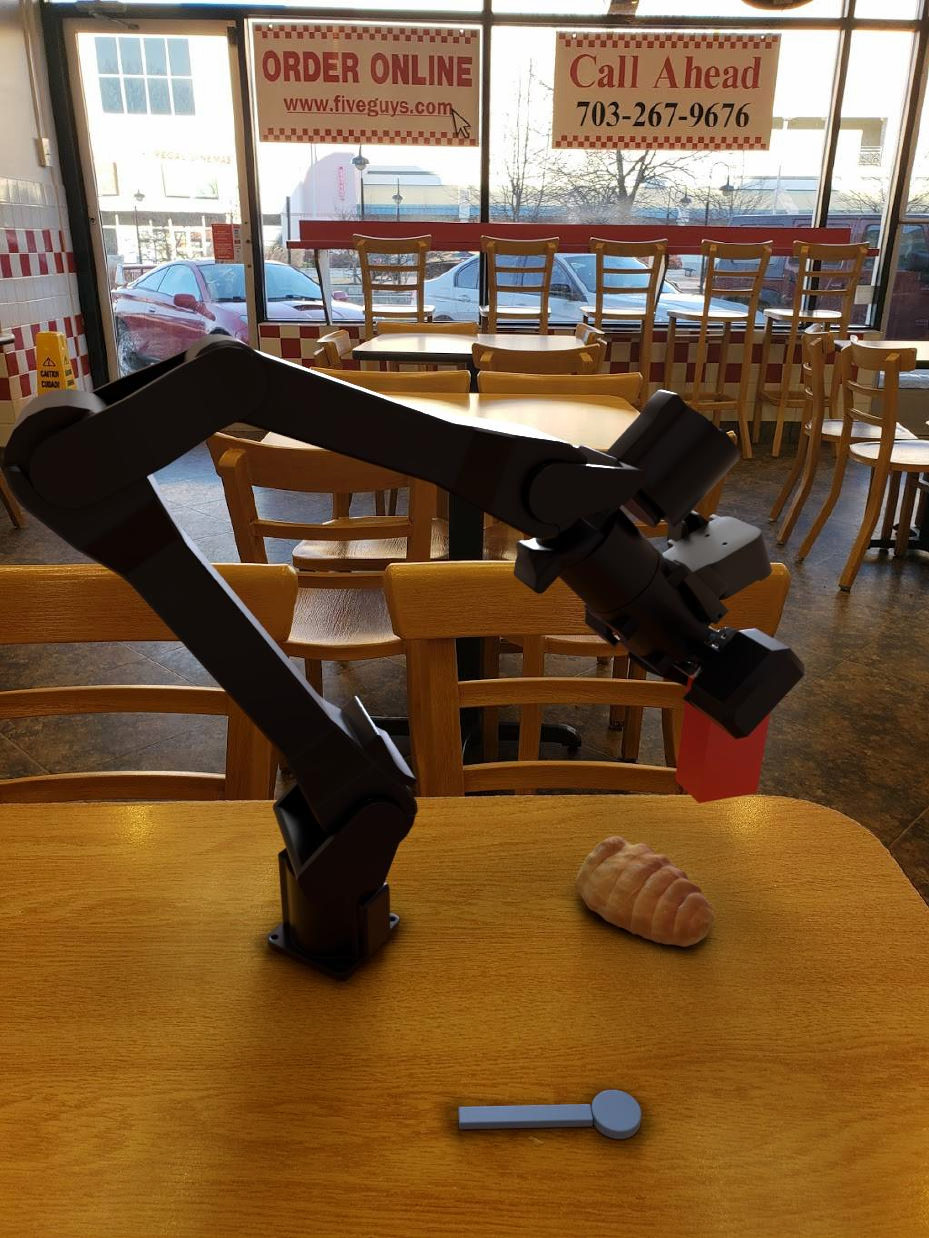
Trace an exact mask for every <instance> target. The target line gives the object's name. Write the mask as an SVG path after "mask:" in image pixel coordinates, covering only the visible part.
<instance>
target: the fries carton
mask: <svg viewBox="0 0 929 1238" xmlns="http://www.w3.org/2000/svg"><path fill="white" fill-rule="evenodd" d="M694 679H695V678H694ZM694 679H692V678H690V677H689V676H688V683H687V687H686V690H685V695H686V694H687V693H688V692H689V691H690V689H691V682H692V681H693V680H694ZM770 718H771V712H770V713H769V714H768V715H767V716H766V717H765V719H764V720H763V721H762V722H761V723H760V724H759V725H758V726H757V727H756V728H755V729H754V730H753V732H752V733H751V734H750V735H749V736H748V737H745V738H740V739H735V738H733V737H732V736H731V735H729V734H728V733H727V732H725V731H724V730H723V729H721V728H720V727H719V726H717V725H716V724H715V723H713V722H712V721H711V720H710V719H709V718H707V717H706V716H705V715H704V714H702V713H701V712H700V711H698V710H697V709H696V708H694V707H693V706H692V705H690V704H689V703H688V702H686V701H685V700H684V707H683V715H682V721H681V722H682V723H681V729H680V730H681V731H680V738H679V745H678V746H679V747H678V754H677V762H676V770H675V779H674V780H675V781H676V782H677V783H678V785H680V786H681V787H682V788H683V790H684V791H686V792H687V794H689V796H691V798H692V799H694V800H695V802H697V803H698V804H703V803H709V802H714V801H719V800H720V801H721V800H726V799H731V798H737V797H743V796H744V797H745V796H748V795H754V794H757V793H758V791H759V790H758V789H759V784H760V777H761V771H762V765H763V759H764V753H765V749H766V742H767V734H768V729H769V725H770V724H769V723H770Z"/></svg>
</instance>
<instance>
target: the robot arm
mask: <svg viewBox="0 0 929 1238" xmlns="http://www.w3.org/2000/svg"><path fill="white" fill-rule="evenodd" d="M234 424H244V425H247V426H250V427H252V428H253V427H254V428H256V429H259V430H263V431H266V432H269V433H272V434H276V435H279V436H282V437H285V438H288V439H291V440H294V441H297V442H299V443H300V442H301V443H303V444H307V445H309V446H313V447H317V448H320V449H323V450H326V451H329V452H332V453H335V454H339V455H341V456H345V457H347V458H350V459H355V460H357V461H360V462H364V463H367V464H370V465H373V466H375V467H378V468H379V467H380V468H383V469H386V470H388V471H392V472H395V473H398V474H400V475H401V474H402V475H405V476H408V477H411V478H413V479H417V480H420V481H423V482H426V483H429V484H432V485H435V486H437V487H438V488H440V489H442V490H444V491H445V492H448V493H449V494H451V495H453V496H454V497H457V498H458V499H460V500H462V501H464V502H466V503H467V504H469V505H471V506H472V507H474V508H476V509H478V510H480V511H481V512H483V513H485V514H487V515H488V516H490V517H492V518H494V519H496V520H498V521H500V522H502V523H503V524H505V525H507V526H509V527H511V528H512V529H514V530H516V531H518V532H519V533H522V534H523V535H525V536H527V537H531V539H529V540H519V541H517V542H516V544H515V548H516V558H515V561H514V566H513V576H514V577H515V578H516V579H517V580H519V581H520V583H522V584H524V585H525V586H526V587H527V588H529V589H530V590H531V591H533V592H534V593H535V594H537V595H541V594H544V593H545V592H546V591H547V590H548V589H549V587H551V585H552V584H553V583H554V582H555V581H556V580H557V579H558V578H559V579H560V580H561V581H562V582H563V583H564V584H565V585H566V586H567V587H568V588H569V589H570V590H571V591H572V592H573V593H574V594H576V596H577V597H578V598H579V599H580V600H581V601H583V603H584V604H585V605H584V606H583V607H584V609H585V613H584V624H586V625H587V627H589V629H591V631H593V633H595V634H596V635H597V637H599V638H600V639H601V640H603V641H604V642H606V643H607V644H608V645H609V646H611V647H612V648H613V649H616V648H617V647H618V646H619V645H620V644H621V646H623V647H624V648H625V649H626V650H627V651H628V652H627V658H628V659H629V660H630V661H632V662H633V664H636V665H637V666H638V667H639V668H641V669H642V670H643V671H645V672H647V673H649V674H651V675H655V676H657V677H659V678H662V679H665V680H667V681H670V682H673V683H676V684H678V685H681V686H683V687H686V688H687V683H688V676H689V677H690V678H692V679H694V678H695V679H694V680H693V681H692V682H691V689H690V691H689V692H688V693H687V694H686V693H685V695H684V696H683V697H682V700H683V701H684V702H685V701H686V702H688V703H689V704H690V705H692V706H693V707H694V708H696V709H697V710H698V711H700V712H701V713H702V714H704V715H705V716H706V717H707V718H709V719H710V720H711V721H712V722H713V723H715V724H716V725H717V726H719V727H720V728H721V729H723V730H724V731H725V732H727V733H728V734H729V735H731V736H732V737H733V738H735V739H740V738H745V737H748V736H749V735H750V734H751V733H752V732H753V730H754V729H755V728H756V727H757V726H758V725H759V724H760V723H761V722H762V721H763V720H764V719H765V717H766V716H767V715H768V714H769V713H770V714H771V713H772V711H773V710H774V709H775V708H776V707H777V705H779V703H780V702H781V701H782V700H783V699H784V698H785V697H786V696H787V695H788V694H789V693H790V691H791V690H792V689H794V687H795V686H796V685H797V684H798V683H799V682H800V681H801V679H803V678H804V676H805V664H804V662H803V661H802V660H801V659H800V658H799V657H798V655H797V654H796V653H795V652H794V651H793V650H792V648H791V647H790V646H788V645H785V644H784V643H782V642H780V641H779V640H777V639H775V638H773V637H771V636H770V635H768V634H766V633H764V632H763V631H761V630H759V629H758V628H749V629H742V630H736V629H735V628H733V627H730V626H724V627H722V628H720V629H719V630H717V629H715V628H713V627H712V626H710V625H711V624H713V625H717V624H719V623H720V621H722V619H723V618H724V617H725V616H726V615H727V614H728V612H730V610H729V609H728V608H727V606H725V605H724V603H723V602H722V601H724V600H727V599H729V598H731V597H733V596H734V595H737V594H738V593H739V592H741V591H743V590H744V589H746V588H748V587H749V586H751V585H753V584H754V583H756V582H758V581H759V582H762V581H764V580H766V579H768V578H769V577H770V575H772V572H773V567H772V565H771V561H770V557H769V554H768V550H767V546H766V542H765V540H764V535H763V532H762V529H760V528H759V527H756V526H754V525H752V524H749V523H747V522H744V521H742V520H740V519H737V518H735V517H732V516H719V515H716V514H714V513H713V514H712V515H709V517H708V518H709V520H708V519H707V518H705V517H704V516H703V515H702V514H700V513H699V512H696V511H694V510H695V508H696V507H697V506H698V505H699V504H700V503H701V502H702V501H703V500H704V498H705V497H706V496H707V495H709V493H710V492H711V491H712V490H713V489H714V487H715V486H716V485H718V483H719V482H720V481H721V480H722V479H723V478H724V477H725V475H726V474H727V473H728V472H729V471H730V470H731V469H732V468H733V467H734V466H735V465H736V463H737V462H738V461H739V459H740V451H739V449H738V446H737V445H736V443H735V442H734V440H733V438H732V437H731V436H730V435H729V433H728V432H727V431H725V430H724V429H721V428H718V427H717V426H716V425H715V424H714V423H713V422H711V421H710V419H708V418H707V417H706V416H705V415H703V414H702V413H700V412H699V411H697V410H696V409H694V408H692V407H691V406H689V405H687V403H686V402H685V401H684V399H683V398H682V397H681V395H680V394H679V393H675V392H671V391H668V390H664V389H658V390H657V391H656V392H655V393H654V394H653V395H652V396H651V397H650V398H649V400H648V401H647V402H646V403H645V405H644V406H643V408H642V410H641V412H640V413H639V414H638V415H637V417H636V418H635V419H634V420H633V421H632V423H631V424H630V425H629V426H628V427H626V429H625V431H623V432H622V433H621V434H620V436H619V437H618V438H617V439H616V440H615V441H614V442H613V443H612V445H610V447H609V448H608V449H607V450H606V451H605V452H601V451H598V450H596V449H593V448H590V447H588V446H587V445H586V446H585V445H583V444H581V445H573V444H571V443H568V442H567V441H564V440H562V439H559V438H557V437H555V436H551V435H549V434H547V433H544V432H542V431H540V430H537V429H534V428H532V427H529V426H527V425H523V424H519V423H512V422H505V421H499V420H492V419H486V418H480V417H469V416H454V415H447V414H441V413H434V412H431V411H429V410H426V409H423V408H420V407H417V406H414V405H411V404H409V403H407V402H403V401H400V400H398V399H394V398H391V397H388V396H386V395H384V394H381V393H377V392H375V391H372V390H370V389H366V388H365V387H361V386H358V385H355V384H353V383H349V382H347V381H345V380H344V381H343V380H341V379H338V378H336V377H332V376H330V375H327V374H325V373H322V372H318V371H315V370H312V369H310V368H307V367H305V366H302V365H299V364H296V363H294V362H291V361H287V360H284V359H282V358H279V357H276V356H273V355H270V354H267V353H264V352H262V351H260V350H256V349H254V348H252V347H251V346H250V345H248V344H247V343H245V342H243V341H241V340H240V339H237V338H236V337H234V336H231V335H225V334H219V333H215V334H211V335H205V336H202V337H201V338H199V339H198V340H196V341H195V342H193V343H192V344H191V345H190V347H187V348H186V349H184V350H181V351H179V352H177V353H176V354H173V355H172V356H168V357H166V358H164V359H162V360H159V361H156V362H155V363H152V364H149V365H147V366H145V367H142V368H139V369H138V370H135V371H131V372H130V373H128V374H126V375H125V374H124V375H123V376H120V377H119V378H116V379H114V380H112V381H110V382H108V383H106V384H105V385H104V384H103V385H102V386H100V387H97V388H95V389H94V390H92V391H90V392H88V391H85V390H79V389H72V388H61V389H54V390H49V391H46V392H44V393H42V394H40V395H38V396H36V397H33V398H32V399H31V400H30V401H29V402H28V403H27V404H26V405H25V406H24V407H23V408H22V409H21V410H20V412H19V414H18V416H17V418H16V420H15V422H14V425H13V427H12V429H11V431H10V434H9V436H8V440H7V441H6V445H5V446H4V458H3V475H4V479H5V481H6V484H7V487H8V489H9V491H10V492H11V495H13V497H14V499H15V500H16V502H17V503H18V504H19V505H20V506H21V507H22V508H23V509H24V510H25V511H26V512H27V513H29V514H30V515H31V516H33V517H34V518H35V519H36V520H37V521H39V522H40V523H42V524H43V525H44V526H45V527H46V528H48V529H49V530H50V531H52V532H53V533H54V534H56V535H57V536H58V537H59V538H60V539H62V540H63V541H64V542H66V543H67V544H68V545H70V546H71V548H73V549H74V550H76V551H77V552H78V553H81V554H82V555H84V557H85V556H86V557H87V558H88V559H90V560H91V561H94V562H95V563H97V564H99V565H100V566H101V567H104V568H105V569H107V570H109V571H111V572H112V573H114V574H115V575H117V576H119V577H121V579H123V580H124V581H126V582H127V583H128V584H129V585H130V586H131V587H132V588H133V589H134V591H136V592H137V594H138V595H140V596H139V597H141V598H142V599H143V601H144V602H145V603H146V604H147V606H149V607H150V609H152V611H153V612H154V613H155V614H156V615H157V616H158V617H159V619H160V620H161V621H162V622H163V623H164V624H165V625H166V627H168V629H169V630H170V631H171V632H172V633H173V635H175V637H176V638H177V639H178V640H179V641H180V642H181V644H183V646H185V648H186V649H187V650H188V652H190V653H191V654H192V656H193V657H194V658H195V659H196V661H198V663H199V664H200V665H201V666H202V667H203V668H204V669H205V671H206V672H207V673H208V674H209V675H210V676H211V677H212V678H213V680H215V682H216V683H217V684H218V685H219V686H220V687H221V688H222V690H224V692H225V693H226V694H227V696H229V698H230V699H231V700H232V701H233V702H234V703H235V704H236V705H237V707H238V708H239V709H240V710H241V711H242V712H243V714H245V716H247V718H248V719H249V720H250V721H251V722H252V724H253V725H254V726H255V727H256V728H257V729H258V730H259V732H261V733H262V735H263V736H264V737H265V738H266V739H267V740H268V742H269V743H270V744H271V745H272V746H273V747H274V749H276V750H277V752H278V753H279V754H280V755H281V757H282V758H283V759H284V761H285V763H286V765H287V767H288V769H289V771H290V772H291V774H292V776H293V778H294V781H293V783H292V784H290V786H289V787H288V788H287V789H286V790H285V791H284V792H283V793H282V795H280V796H279V798H278V799H276V801H275V802H274V803H273V804H272V811H273V813H274V816H275V820H276V823H277V825H278V828H279V832H280V835H281V836H282V840H283V843H284V848H283V849H282V850H280V851H279V852H278V853H277V862H278V874H279V888H280V889H279V891H280V904H281V905H280V906H281V919H282V923H280V924H279V925H278V926H277V927H276V928H275V929H274V930H272V931H271V932H270V933H269V934H267V936H266V945H267V946H268V947H270V948H272V949H274V950H275V951H278V952H280V953H282V954H284V955H287V956H289V957H290V958H292V959H295V960H297V961H299V962H301V963H303V964H305V965H307V966H309V967H312V968H314V969H316V970H318V971H320V972H322V973H324V974H326V975H328V976H331V977H333V978H335V979H337V980H345V979H347V978H348V977H349V976H350V975H352V973H353V972H355V971H356V969H358V968H359V966H361V965H362V964H363V963H364V962H365V961H366V959H368V958H369V957H370V956H372V955H373V954H374V952H375V951H376V950H378V948H379V947H380V946H382V944H384V942H386V940H388V939H389V937H390V936H391V935H392V934H393V932H394V931H396V930H397V928H398V927H399V926H400V917H399V916H398V915H397V914H394V913H392V912H391V892H390V891H391V890H390V889H391V888H390V884H389V883H387V882H386V880H387V878H388V875H389V873H390V869H391V867H392V865H393V862H394V859H395V857H396V854H397V851H398V848H399V845H400V844H401V842H403V841H404V840H405V838H406V837H408V835H409V833H410V832H411V829H412V828H413V826H414V825H415V819H416V816H417V814H418V812H419V807H418V802H417V800H416V797H415V796H414V794H413V792H412V790H411V789H410V786H412V785H413V786H414V785H416V784H417V782H418V780H417V778H416V776H415V775H414V774H413V772H412V770H411V769H410V767H409V765H408V764H407V763H406V761H405V759H404V758H403V756H402V754H401V752H400V751H399V749H398V747H396V745H395V744H394V741H393V739H391V737H390V735H389V733H388V732H387V731H385V730H384V729H382V728H379V727H378V726H376V725H375V723H374V722H373V720H372V718H371V717H370V715H369V714H368V712H367V710H366V708H365V707H364V705H363V703H362V702H361V700H360V699H359V697H358V696H357V695H355V696H353V697H352V698H351V699H350V700H349V701H348V702H347V703H346V704H345V705H344V706H343V707H342V708H339V707H337V706H336V705H334V704H332V703H330V702H329V701H327V700H325V699H324V698H323V697H322V696H320V694H318V692H317V691H316V690H315V689H314V687H313V686H312V685H311V684H310V683H309V681H308V680H307V679H306V678H305V677H304V676H303V674H302V673H301V672H300V671H299V669H298V668H297V667H296V665H294V663H293V662H292V661H291V659H289V657H288V656H287V655H286V653H285V652H284V651H283V650H282V649H281V648H280V646H279V645H278V643H276V641H275V640H274V639H273V638H272V636H271V635H270V634H269V632H267V630H266V629H265V628H264V627H263V625H262V624H261V623H260V622H259V620H258V618H256V617H255V616H254V614H253V613H252V612H251V610H250V609H249V608H248V607H247V606H246V604H245V603H244V602H243V601H242V600H241V598H240V597H239V596H238V595H237V594H236V593H235V591H234V590H233V589H232V588H231V587H230V585H229V583H228V582H227V581H226V580H225V579H224V578H223V576H222V575H221V574H220V573H219V571H217V568H215V567H214V565H213V564H212V563H211V562H210V561H209V560H208V558H207V557H206V556H205V554H204V553H203V552H202V551H201V549H199V547H198V546H197V545H196V543H195V542H194V541H193V540H192V538H191V537H190V536H189V535H188V534H187V533H186V531H185V529H184V528H182V527H181V525H180V523H179V522H178V519H177V518H176V516H175V514H174V512H173V510H172V508H171V506H170V505H169V503H168V501H167V499H166V497H165V494H164V493H163V491H162V489H161V487H160V486H159V484H158V482H157V480H156V478H155V476H154V474H156V473H157V472H159V471H160V470H163V469H164V468H166V467H168V466H169V465H171V464H173V463H174V462H176V461H177V460H179V459H180V458H181V457H183V456H184V455H186V454H187V453H189V452H190V451H191V450H193V449H194V448H196V447H197V446H199V445H201V444H202V443H203V442H205V441H206V440H208V439H209V438H211V437H212V436H214V435H215V434H217V433H219V432H220V431H222V430H225V429H226V428H228V427H230V426H232V425H234ZM622 506H623V507H624V509H626V510H627V512H629V513H630V514H631V515H633V516H634V517H635V518H636V519H638V520H639V521H640V522H641V523H643V524H645V525H646V526H648V527H650V528H653V529H654V528H656V527H657V526H659V524H660V523H661V522H662V521H664V522H665V523H666V524H667V534H666V544H667V549H666V551H664V552H663V553H662V552H660V551H659V549H657V548H656V547H655V546H654V544H653V543H652V542H651V541H650V540H649V538H647V537H646V536H645V535H644V533H643V532H642V531H641V530H640V529H639V527H637V526H636V524H635V523H634V521H632V520H631V519H630V518H629V517H628V515H626V513H625V512H624V511H623V510H622V509H621V507H622ZM615 635H616V636H615Z"/></svg>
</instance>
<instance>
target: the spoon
mask: <svg viewBox="0 0 929 1238" xmlns="http://www.w3.org/2000/svg"><path fill="white" fill-rule="evenodd" d="M457 1113H458V1129H459V1130H489V1129H490V1130H491V1129H492V1130H493V1129H494V1130H495V1129H534V1128H535V1129H537V1128H541V1129H542V1128H577V1127H578V1128H582V1127H583V1128H584V1127H585V1128H586V1127H593V1125H594V1127H595V1128H596V1130H597V1131H598V1132H599V1133H601V1134H602V1135H604V1136H606V1137H607V1138H610V1139H614V1140H624V1139H628V1138H631V1137H633V1136H634V1135H635V1134H637V1132H638V1131H639V1129H640V1128H641V1122H642V1110H641V1107H640V1105H639V1103H638V1101H637V1100H636V1099H635V1098H634V1097H633V1096H631V1095H630V1094H629V1093H627V1092H624V1091H622V1090H618V1089H606V1090H603V1091H601V1092H600V1093H598V1094H597V1095H596V1096H595V1097H594V1098H593V1100H592V1102H591V1104H590V1103H584V1104H583V1103H582V1104H577V1103H576V1104H539V1105H538V1104H537V1105H536V1104H535V1105H495V1106H494V1105H493V1106H487V1105H486V1106H458V1112H457Z"/></svg>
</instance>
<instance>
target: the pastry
mask: <svg viewBox="0 0 929 1238" xmlns="http://www.w3.org/2000/svg"><path fill="white" fill-rule="evenodd" d="M574 885H575V888H576V891H577V892H578V894H579V895H580V897H581V898H582V899H583V901H584V903H585V905H586V906H587V908H588V909H589V910H590V911H591V912H593V911H594V912H595V913H597V914H598V915H599V916H601V917H602V919H603V920H604V921H605V922H608V923H610V924H612V925H615V926H616V927H618V928H623V929H624V930H626V931H627V932H629V933H632V935H633V936H634V935H638V936H641V937H642V938H643V939H647V940H649V941H652V942H653V943H657V944H664V945H676V946H680V947H684V948H685V947H689V946H692V945H696V944H697V943H699V942H700V941H701V940H703V939H704V938H706V937H707V935H708V933H709V931H710V929H711V927H712V925H713V923H714V921H715V914H714V912H713V907H712V905H711V904H710V903H709V902H708V900H707V898H706V897H705V896H704V895H703V892H702V889H701V887H700V886H699V885H697V884H695V883H693V882H691V880H690V879H689V876H688V875H687V872H686V871H684V870H683V869H679V868H677V867H676V865H675V864H674V863H673V862H672V861H671V860H670V858H669V857H668V856H667V855H666V854H662V853H659V854H656V852H655V850H654V849H653V848H652V847H651V846H650V845H648V844H647V843H644V842H639V843H636V844H631V843H630V842H628V841H627V840H625V838H624V837H622V836H616V835H615V836H614V835H613V836H610V837H608V838H606V839H604V840H602V841H600V842H598V843H597V844H596V846H595V847H594V849H593V850H592V852H590V853H589V854H588V855H587V856H586V858H585V859H584V861H583V863H582V864H581V867H580V868H579V871H578V873H577V876H576V879H575V883H574Z"/></svg>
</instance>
